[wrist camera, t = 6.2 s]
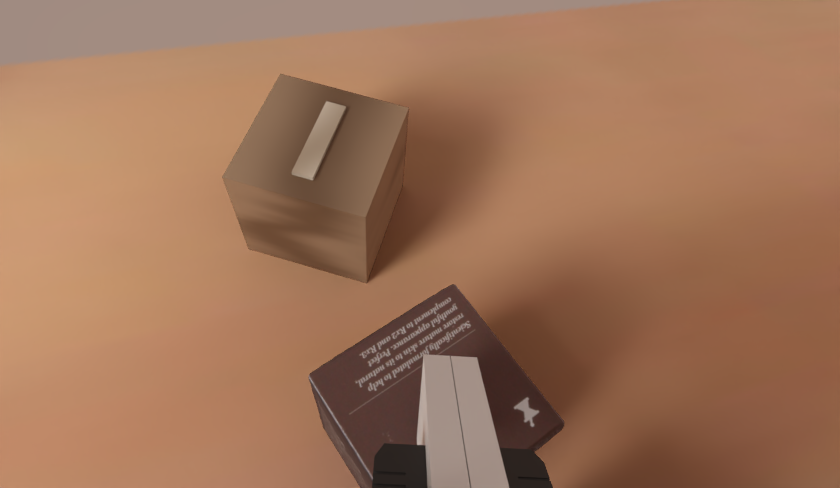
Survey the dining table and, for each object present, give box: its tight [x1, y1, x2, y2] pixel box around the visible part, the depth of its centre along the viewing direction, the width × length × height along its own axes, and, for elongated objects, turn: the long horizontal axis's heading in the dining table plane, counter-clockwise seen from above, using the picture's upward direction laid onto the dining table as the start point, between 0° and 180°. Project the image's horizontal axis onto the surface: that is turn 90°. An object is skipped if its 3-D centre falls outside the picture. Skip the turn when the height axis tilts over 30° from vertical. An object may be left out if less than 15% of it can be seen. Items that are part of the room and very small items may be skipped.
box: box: [309, 284, 564, 488], centre depth 22 cm, size 6×6×7 cm
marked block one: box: [222, 74, 409, 283], centre depth 28 cm, size 6×6×6 cm
